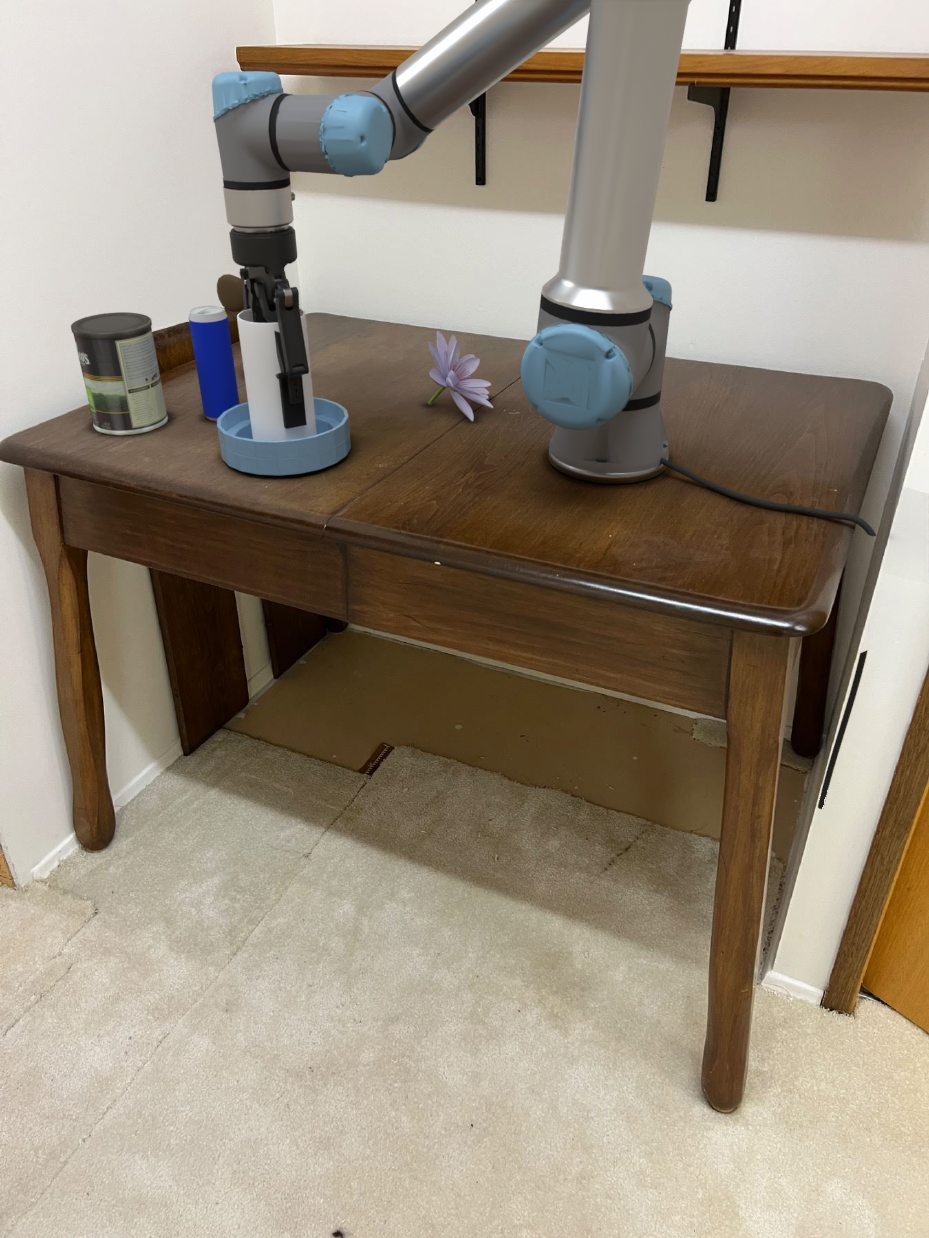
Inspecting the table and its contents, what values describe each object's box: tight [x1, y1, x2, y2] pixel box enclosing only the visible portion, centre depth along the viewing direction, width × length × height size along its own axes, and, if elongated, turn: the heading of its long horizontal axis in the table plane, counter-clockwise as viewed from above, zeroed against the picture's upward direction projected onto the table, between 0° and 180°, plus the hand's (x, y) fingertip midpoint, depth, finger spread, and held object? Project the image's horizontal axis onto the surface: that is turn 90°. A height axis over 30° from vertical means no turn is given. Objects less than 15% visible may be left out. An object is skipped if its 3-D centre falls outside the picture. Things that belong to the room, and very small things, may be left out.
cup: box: [236, 307, 317, 441], centre depth 118 cm, size 8×8×16 cm
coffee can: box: [70, 311, 169, 436], centre depth 129 cm, size 10×10×14 cm
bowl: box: [216, 396, 352, 476], centre depth 122 cm, size 17×17×5 cm
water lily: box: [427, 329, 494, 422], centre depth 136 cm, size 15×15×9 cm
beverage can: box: [188, 305, 241, 422], centre depth 131 cm, size 5×5×15 cm
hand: (282, 414), depth 120 cm, fingers closed on cup, 8 cm apart
